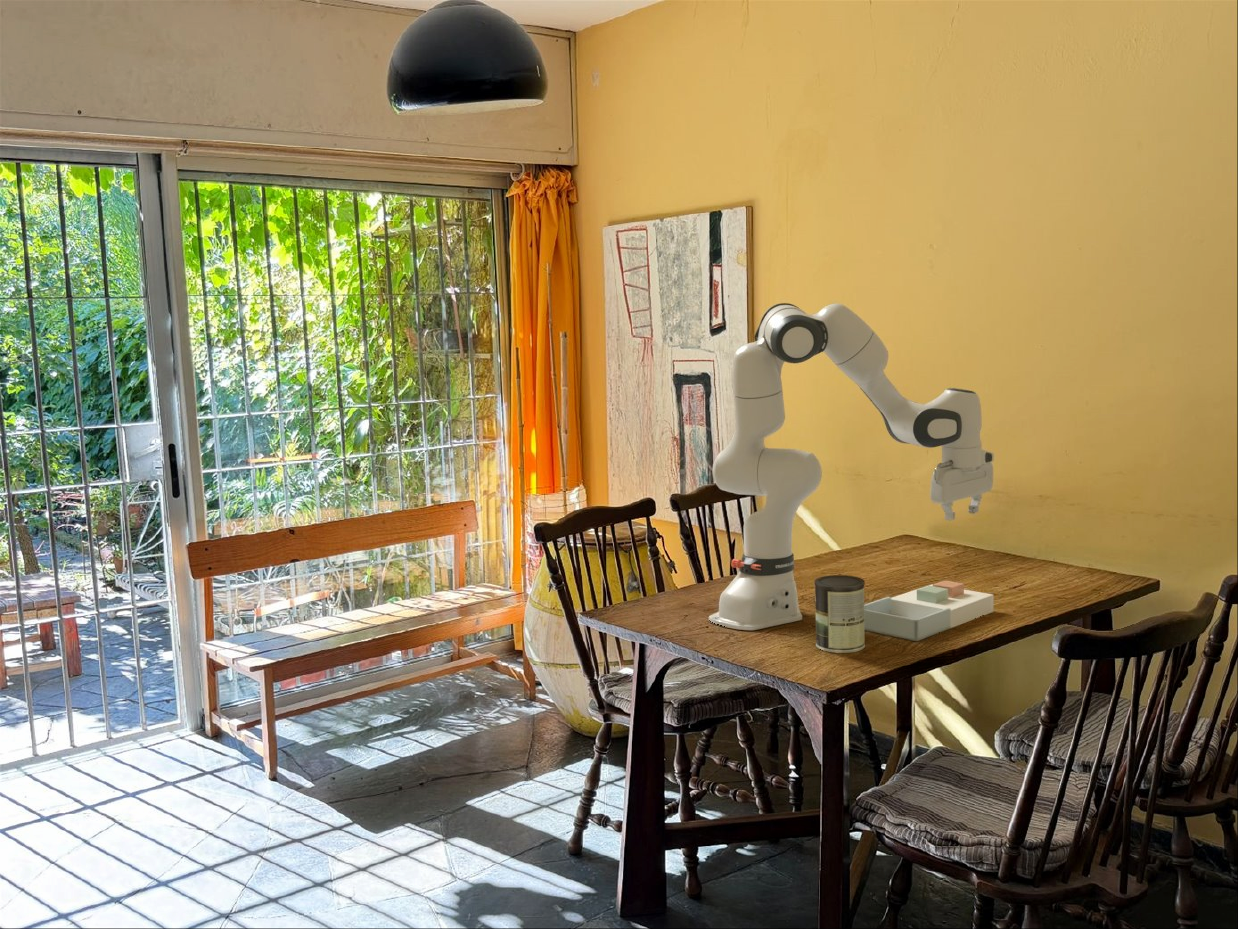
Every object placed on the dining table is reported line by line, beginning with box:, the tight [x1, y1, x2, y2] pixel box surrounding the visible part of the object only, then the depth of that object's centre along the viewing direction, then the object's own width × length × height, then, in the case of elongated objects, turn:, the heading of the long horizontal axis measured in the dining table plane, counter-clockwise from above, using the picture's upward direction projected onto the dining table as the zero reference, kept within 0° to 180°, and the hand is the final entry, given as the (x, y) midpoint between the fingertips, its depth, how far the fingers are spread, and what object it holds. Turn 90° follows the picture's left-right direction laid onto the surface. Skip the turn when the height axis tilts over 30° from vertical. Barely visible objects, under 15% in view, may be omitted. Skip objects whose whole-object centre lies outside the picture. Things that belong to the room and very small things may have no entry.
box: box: [864, 596, 951, 642], centre depth 249 cm, size 13×16×4 cm
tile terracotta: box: [933, 580, 965, 598], centre depth 261 cm, size 5×5×2 cm
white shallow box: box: [891, 583, 995, 629], centre depth 259 cm, size 18×16×4 cm
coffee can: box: [813, 574, 866, 654], centre depth 237 cm, size 10×10×14 cm
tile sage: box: [917, 585, 948, 604], centre depth 257 cm, size 5×5×2 cm
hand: (961, 516), depth 264 cm, fingers open, 8 cm apart
